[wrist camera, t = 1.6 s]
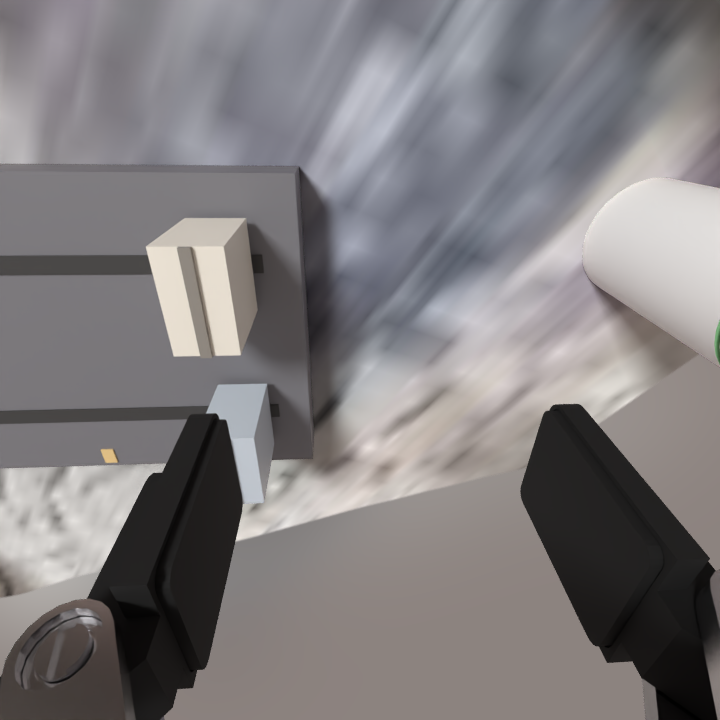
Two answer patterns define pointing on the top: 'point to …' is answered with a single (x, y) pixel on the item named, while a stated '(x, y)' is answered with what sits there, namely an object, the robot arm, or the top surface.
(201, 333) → the cream fader
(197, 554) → the robot arm
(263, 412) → the grey fader
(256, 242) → the fader console
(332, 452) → the top surface
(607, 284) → the cylindrical container
